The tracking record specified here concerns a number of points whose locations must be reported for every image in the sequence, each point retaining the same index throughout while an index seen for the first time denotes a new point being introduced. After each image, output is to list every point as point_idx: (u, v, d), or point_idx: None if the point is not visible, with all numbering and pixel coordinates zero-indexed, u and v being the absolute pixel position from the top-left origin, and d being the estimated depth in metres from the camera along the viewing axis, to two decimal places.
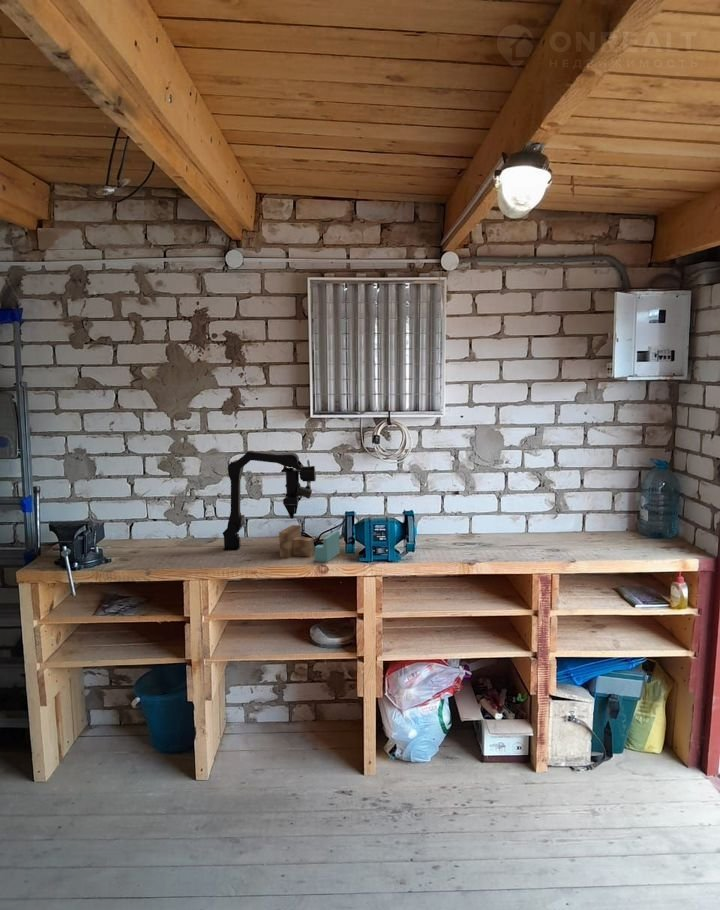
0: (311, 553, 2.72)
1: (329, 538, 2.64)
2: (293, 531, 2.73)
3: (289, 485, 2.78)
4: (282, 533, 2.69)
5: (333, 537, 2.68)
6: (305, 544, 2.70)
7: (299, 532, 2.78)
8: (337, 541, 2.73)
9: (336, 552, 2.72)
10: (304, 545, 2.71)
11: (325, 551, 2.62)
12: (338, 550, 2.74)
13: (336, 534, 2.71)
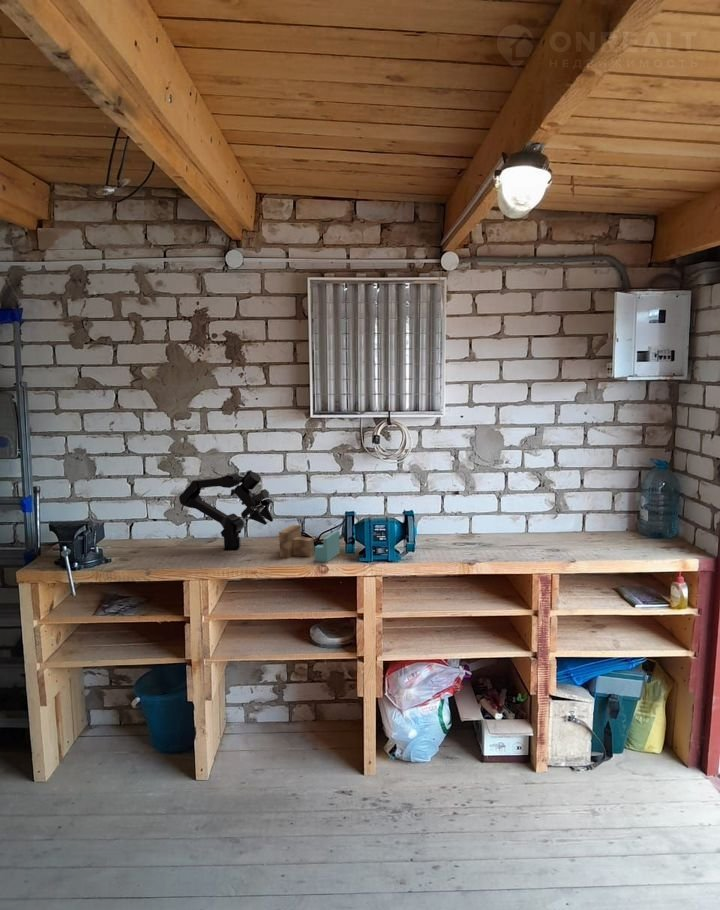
0: (311, 553, 2.72)
1: (329, 538, 2.64)
2: (293, 531, 2.73)
3: (243, 501, 2.77)
4: (282, 533, 2.69)
5: (333, 537, 2.68)
6: (305, 544, 2.70)
7: (299, 532, 2.78)
8: (337, 541, 2.73)
9: (336, 552, 2.72)
10: (304, 545, 2.71)
11: (325, 551, 2.62)
12: (338, 550, 2.74)
13: (336, 534, 2.71)
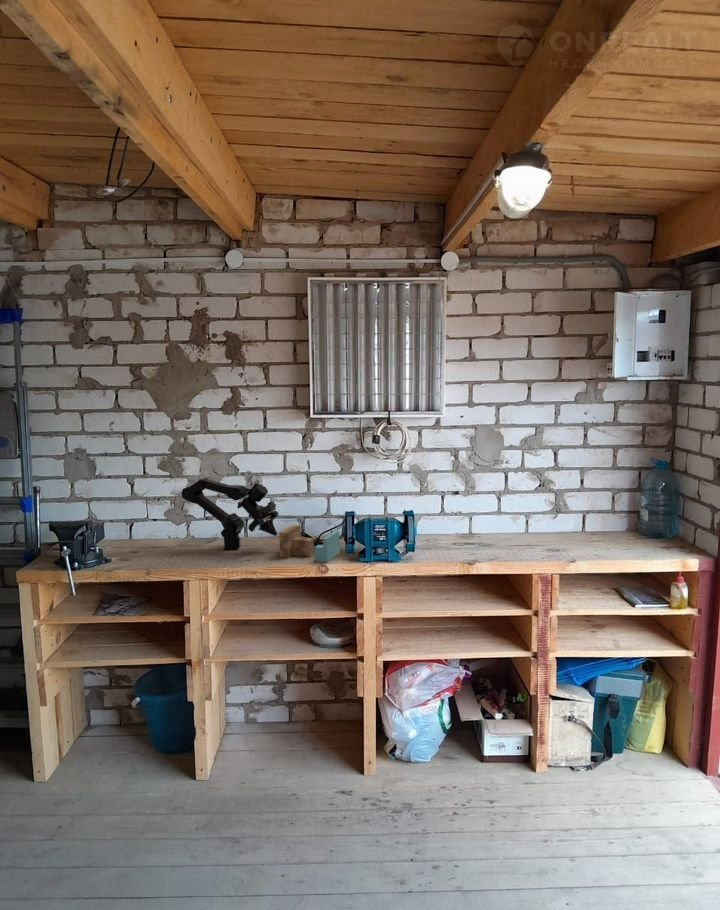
0: (311, 553, 2.72)
1: (329, 538, 2.64)
2: (293, 531, 2.73)
3: (250, 513, 2.77)
4: (282, 533, 2.69)
5: (333, 537, 2.68)
6: (305, 544, 2.70)
7: (299, 532, 2.78)
8: (337, 541, 2.73)
9: (336, 552, 2.72)
10: (304, 545, 2.71)
11: (325, 551, 2.62)
12: (338, 550, 2.74)
13: (336, 534, 2.71)
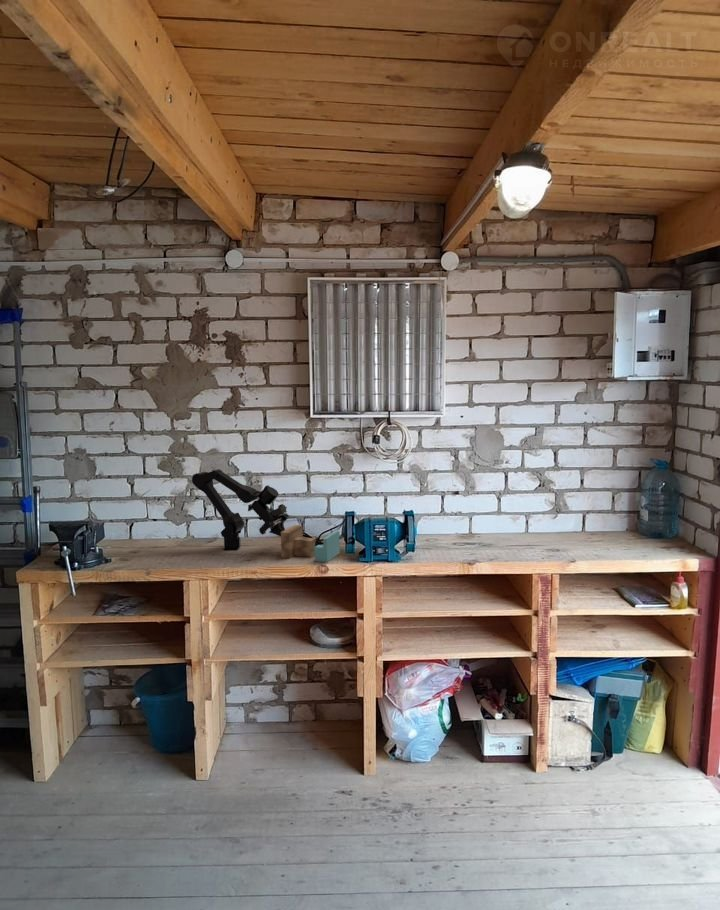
0: (313, 553, 2.72)
1: (329, 538, 2.64)
2: (295, 531, 2.73)
3: (261, 516, 2.75)
4: (284, 533, 2.68)
5: (333, 537, 2.68)
6: (307, 544, 2.70)
7: (300, 532, 2.78)
8: (337, 541, 2.73)
9: (336, 552, 2.72)
10: (306, 545, 2.70)
11: (325, 551, 2.62)
12: (338, 550, 2.74)
13: (336, 534, 2.71)
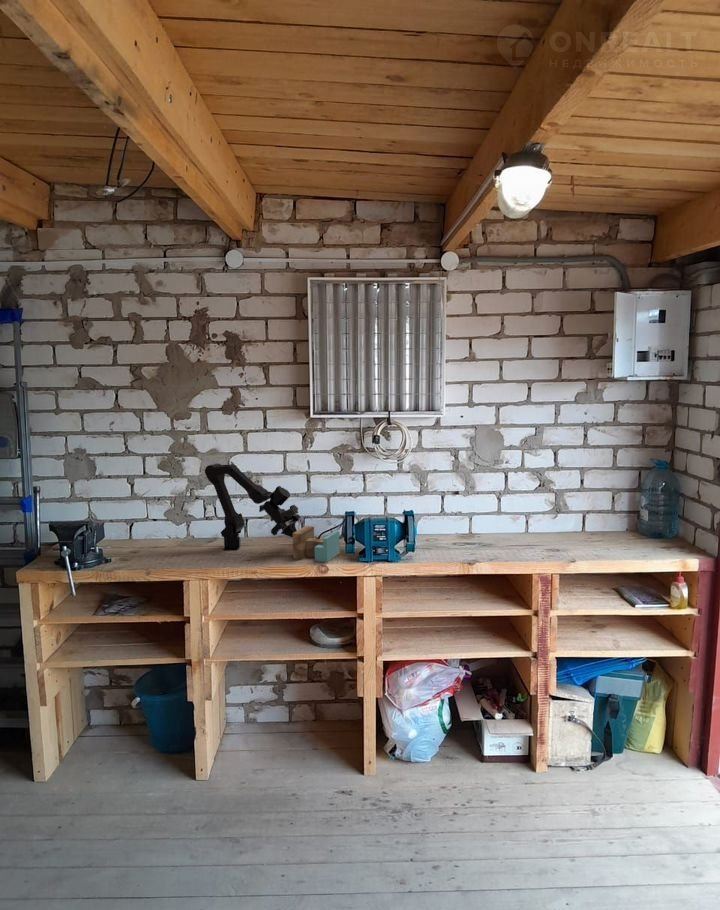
0: None
1: (329, 538, 2.64)
2: (306, 532, 2.71)
3: (272, 517, 2.73)
4: (296, 534, 2.66)
5: (333, 537, 2.68)
6: None
7: (312, 533, 2.76)
8: (337, 541, 2.73)
9: (336, 552, 2.72)
10: None
11: (325, 551, 2.62)
12: (338, 550, 2.74)
13: (336, 534, 2.71)
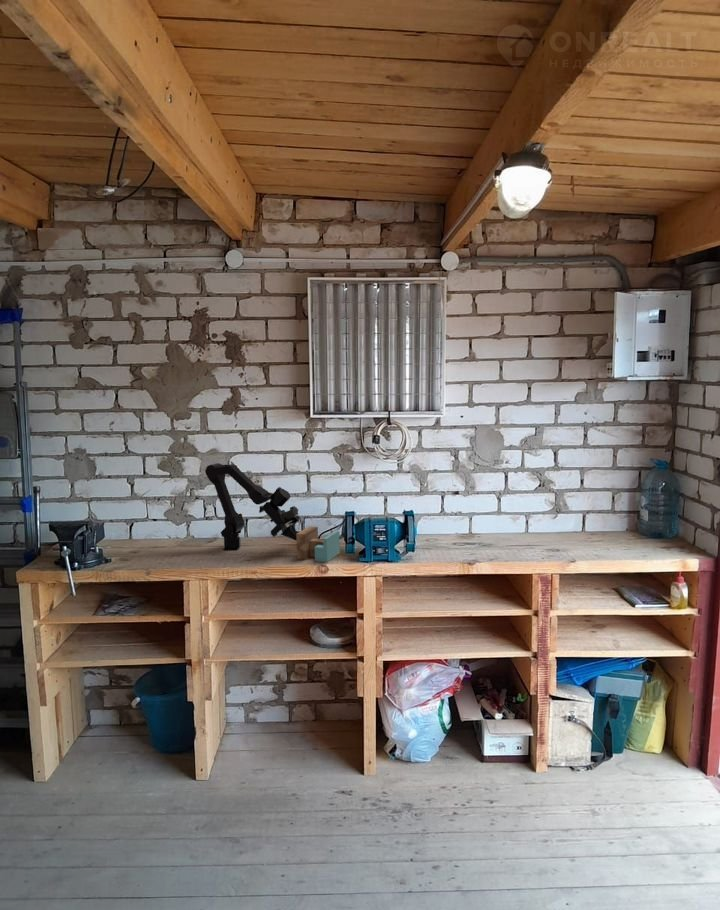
0: None
1: (329, 538, 2.64)
2: (310, 532, 2.70)
3: (272, 518, 2.74)
4: (299, 534, 2.66)
5: (333, 537, 2.68)
6: None
7: (315, 533, 2.75)
8: (337, 541, 2.73)
9: (336, 552, 2.72)
10: None
11: (325, 551, 2.62)
12: (338, 550, 2.74)
13: (336, 534, 2.71)
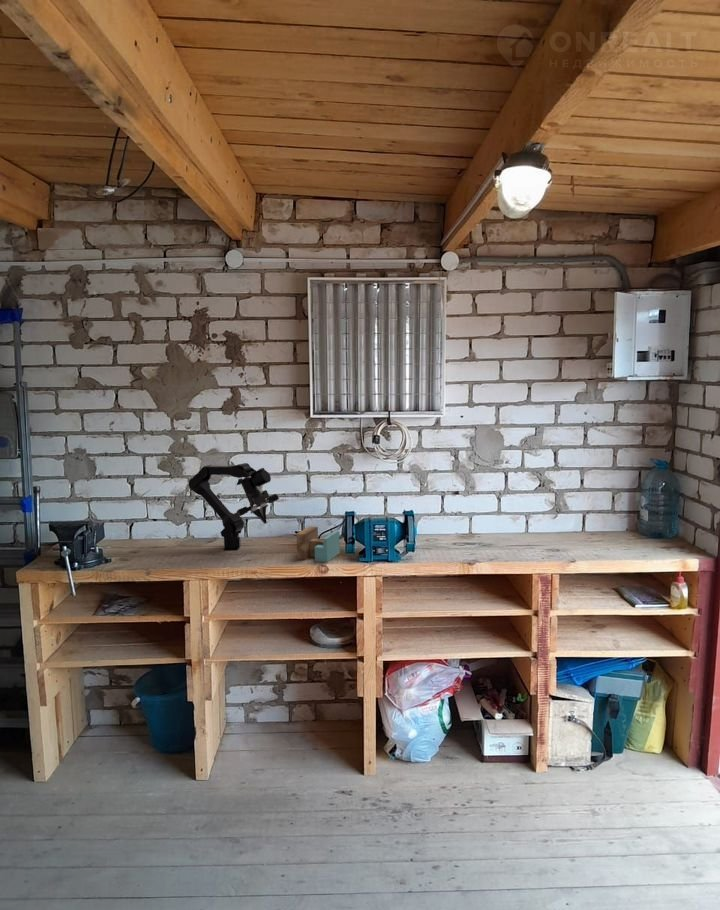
0: None
1: (329, 538, 2.64)
2: (310, 532, 2.70)
3: (246, 495, 2.77)
4: (299, 534, 2.66)
5: (333, 537, 2.68)
6: None
7: (315, 533, 2.75)
8: (337, 541, 2.73)
9: (336, 552, 2.72)
10: None
11: (325, 551, 2.62)
12: (338, 550, 2.74)
13: (336, 534, 2.71)
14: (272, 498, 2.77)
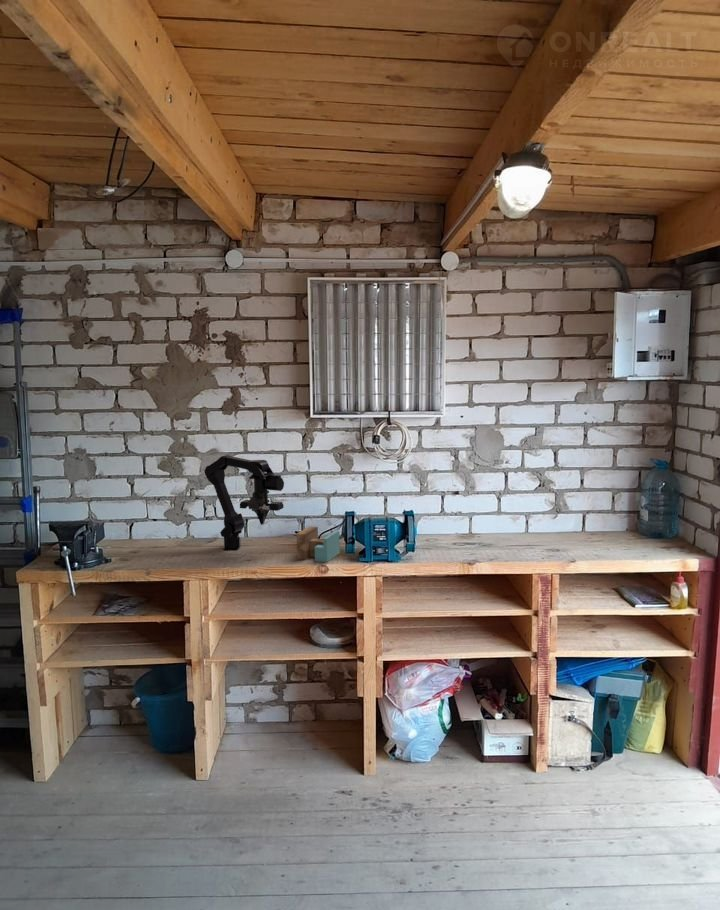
0: None
1: (329, 538, 2.64)
2: (310, 532, 2.70)
3: None
4: (299, 534, 2.66)
5: (333, 537, 2.68)
6: None
7: (315, 533, 2.75)
8: (337, 541, 2.73)
9: (336, 552, 2.72)
10: None
11: (325, 551, 2.62)
12: (338, 550, 2.74)
13: (336, 534, 2.71)
14: (271, 507, 2.70)
